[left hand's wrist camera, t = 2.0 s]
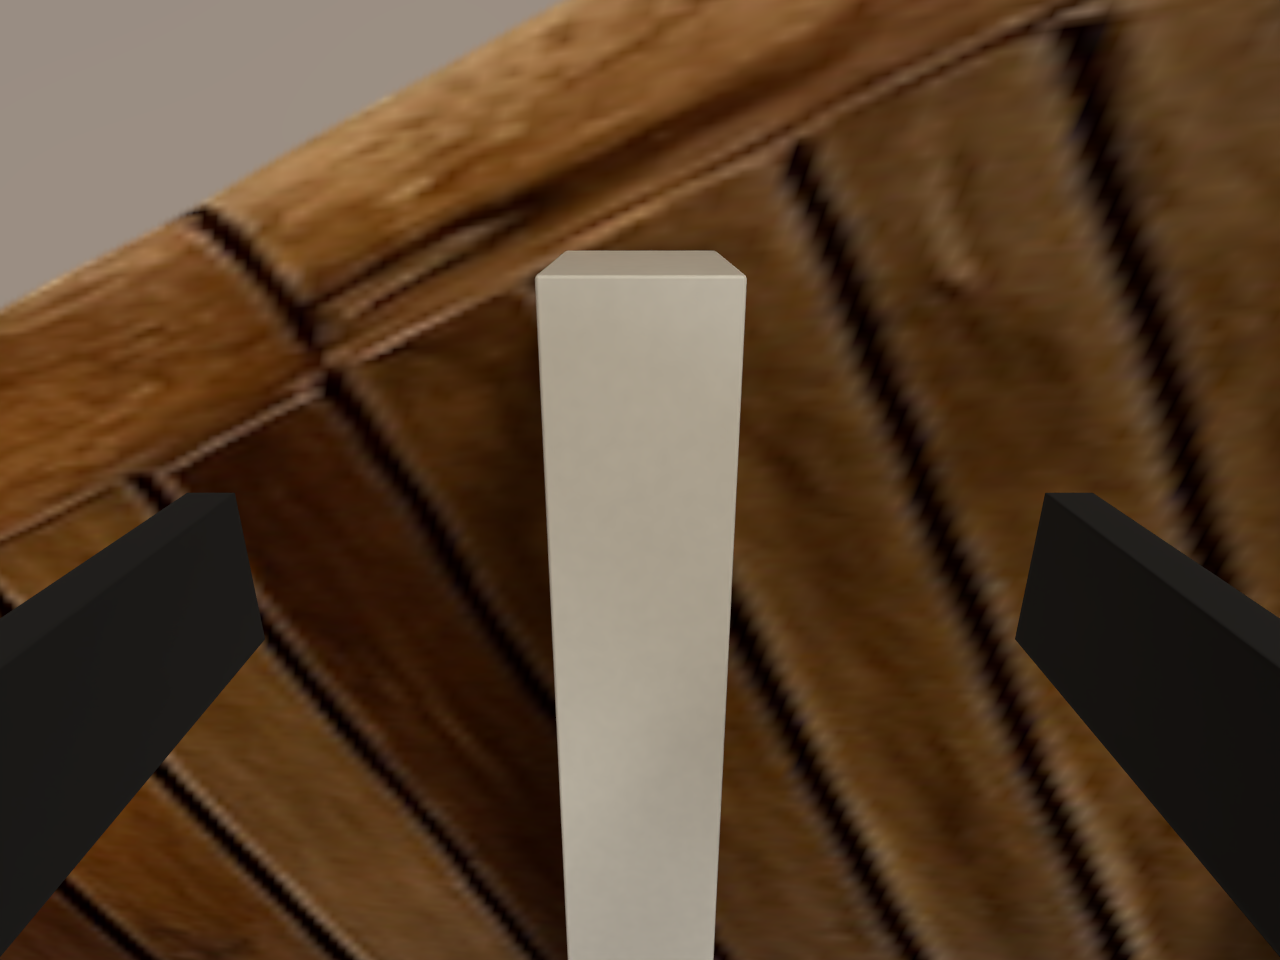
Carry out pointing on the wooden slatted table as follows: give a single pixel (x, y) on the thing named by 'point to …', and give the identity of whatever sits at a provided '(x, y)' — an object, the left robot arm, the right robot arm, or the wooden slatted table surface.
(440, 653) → the wooden slatted table surface
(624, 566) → the beam
